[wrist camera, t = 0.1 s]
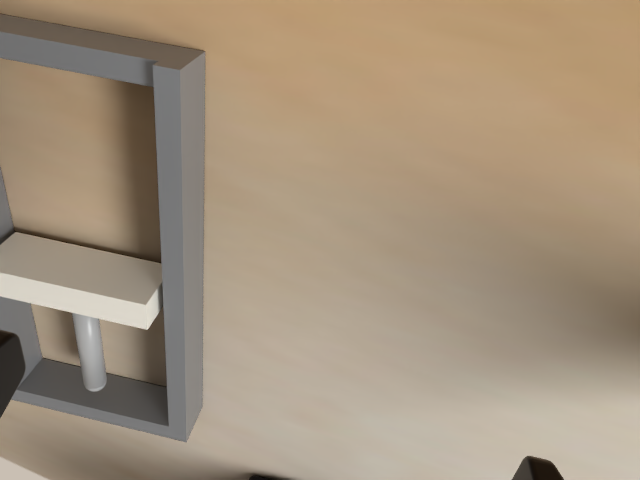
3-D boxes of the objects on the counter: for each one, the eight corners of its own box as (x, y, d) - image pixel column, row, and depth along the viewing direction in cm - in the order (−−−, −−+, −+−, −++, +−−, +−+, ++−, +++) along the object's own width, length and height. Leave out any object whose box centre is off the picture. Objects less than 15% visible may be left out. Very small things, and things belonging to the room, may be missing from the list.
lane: (202, 407, 33) (186, 442, 31) (29, 366, 34) (3, 397, 32) (205, 51, 22) (179, 70, 20) (-58, 3, 23) (-109, 16, 21)
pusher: (176, 385, 32) (154, 427, 30) (42, 353, 33) (9, 392, 30) (172, 265, 27) (145, 305, 25) (15, 231, 28) (-26, 266, 26)
